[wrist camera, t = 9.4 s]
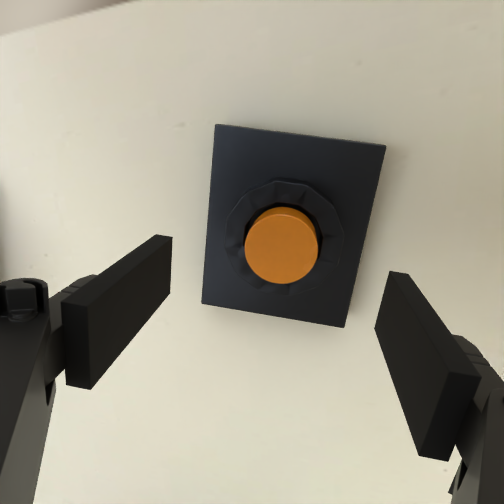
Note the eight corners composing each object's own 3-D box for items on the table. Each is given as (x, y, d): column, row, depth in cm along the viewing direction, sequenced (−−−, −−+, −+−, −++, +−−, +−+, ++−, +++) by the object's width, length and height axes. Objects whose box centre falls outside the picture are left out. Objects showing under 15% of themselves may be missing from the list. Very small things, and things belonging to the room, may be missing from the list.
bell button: (253, 201, 21) (248, 209, 19) (322, 211, 21) (324, 220, 19) (246, 265, 22) (240, 277, 21) (310, 275, 22) (311, 289, 20)
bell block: (222, 124, 23) (207, 123, 20) (379, 143, 23) (394, 146, 19) (208, 290, 27) (193, 316, 24) (341, 313, 27) (347, 343, 23)
